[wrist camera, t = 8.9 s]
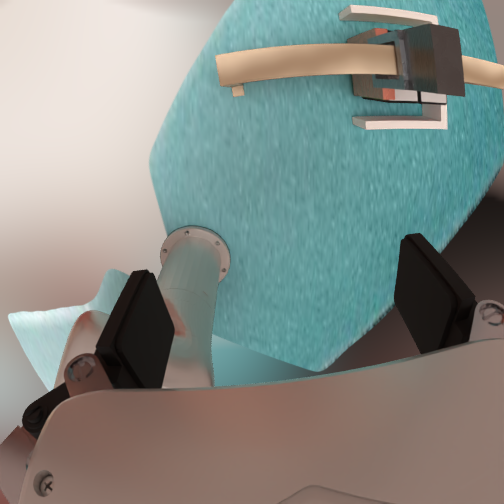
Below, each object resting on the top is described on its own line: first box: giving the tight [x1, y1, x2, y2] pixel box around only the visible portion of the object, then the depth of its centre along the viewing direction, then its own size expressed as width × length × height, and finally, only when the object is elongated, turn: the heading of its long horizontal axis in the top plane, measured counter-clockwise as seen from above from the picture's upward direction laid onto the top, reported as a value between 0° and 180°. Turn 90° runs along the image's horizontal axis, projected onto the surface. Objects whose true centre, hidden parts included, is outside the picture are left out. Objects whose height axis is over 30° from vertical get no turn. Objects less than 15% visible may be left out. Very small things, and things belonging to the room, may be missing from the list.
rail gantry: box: [215, 44, 504, 97], centre depth 31 cm, size 6×34×19 cm, turn 99°
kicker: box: [347, 23, 465, 100], centre depth 27 cm, size 9×4×24 cm, turn 9°
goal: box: [339, 5, 447, 130], centre depth 36 cm, size 18×14×6 cm
